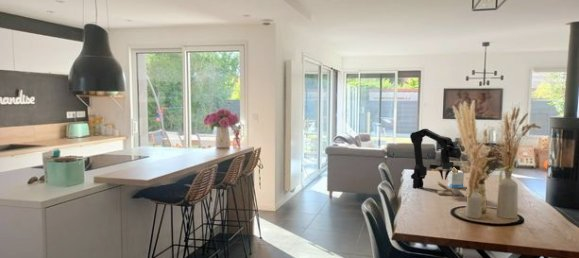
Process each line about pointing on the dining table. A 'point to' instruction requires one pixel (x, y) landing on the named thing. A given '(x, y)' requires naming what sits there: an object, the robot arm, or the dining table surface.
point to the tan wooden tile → (456, 192)
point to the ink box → (455, 179)
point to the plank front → (445, 193)
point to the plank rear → (443, 186)
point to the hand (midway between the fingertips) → (443, 179)
